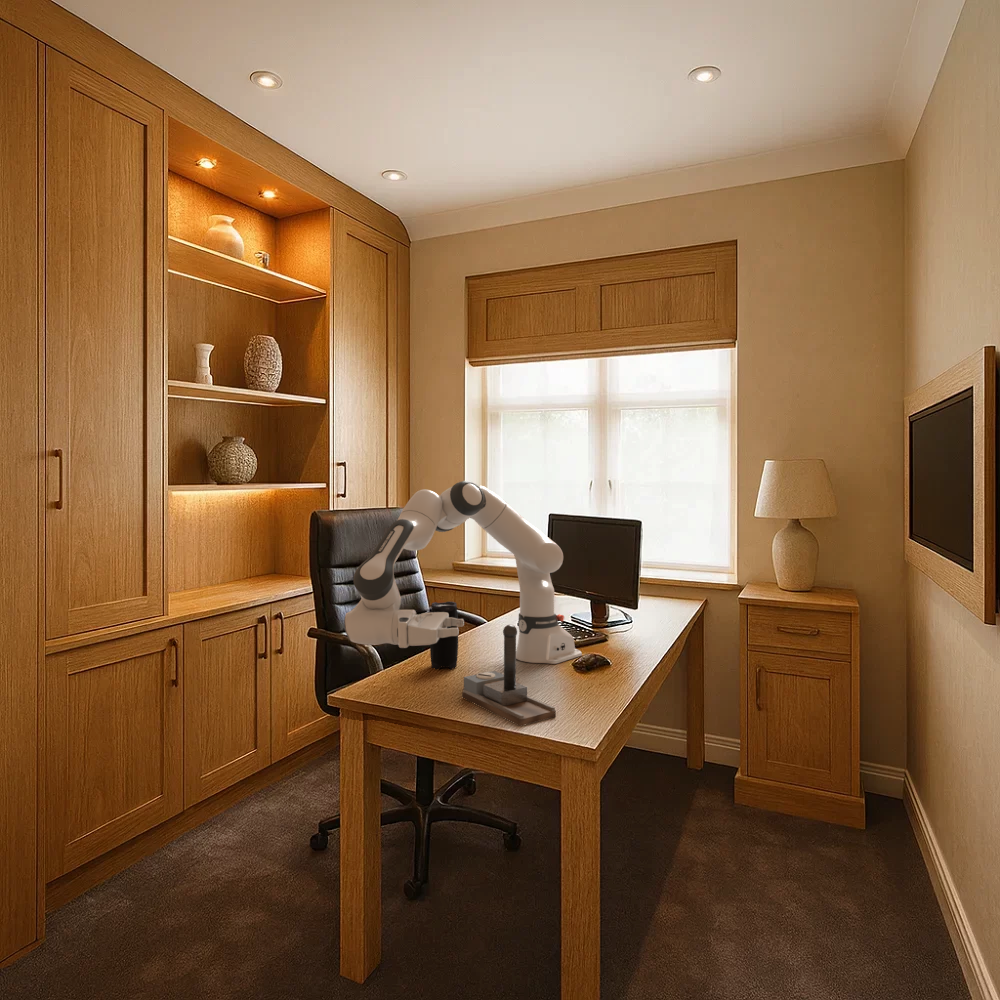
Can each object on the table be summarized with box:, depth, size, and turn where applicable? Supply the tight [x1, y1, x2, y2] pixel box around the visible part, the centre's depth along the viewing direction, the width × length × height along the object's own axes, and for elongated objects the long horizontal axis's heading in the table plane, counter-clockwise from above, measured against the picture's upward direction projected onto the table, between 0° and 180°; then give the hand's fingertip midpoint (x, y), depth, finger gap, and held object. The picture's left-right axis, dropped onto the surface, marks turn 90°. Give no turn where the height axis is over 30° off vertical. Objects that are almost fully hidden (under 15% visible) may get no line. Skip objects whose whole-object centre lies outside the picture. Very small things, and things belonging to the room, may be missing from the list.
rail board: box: [461, 688, 557, 727], centre depth 176 cm, size 11×25×2 cm, turn 36°
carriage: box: [483, 624, 528, 706], centre depth 177 cm, size 8×8×20 cm
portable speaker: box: [429, 601, 459, 670], centre depth 212 cm, size 9×9×20 cm
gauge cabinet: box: [463, 670, 504, 696], centre depth 184 cm, size 10×6×5 cm, turn 126°
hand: (461, 627), depth 176 cm, fingers open, 8 cm apart
